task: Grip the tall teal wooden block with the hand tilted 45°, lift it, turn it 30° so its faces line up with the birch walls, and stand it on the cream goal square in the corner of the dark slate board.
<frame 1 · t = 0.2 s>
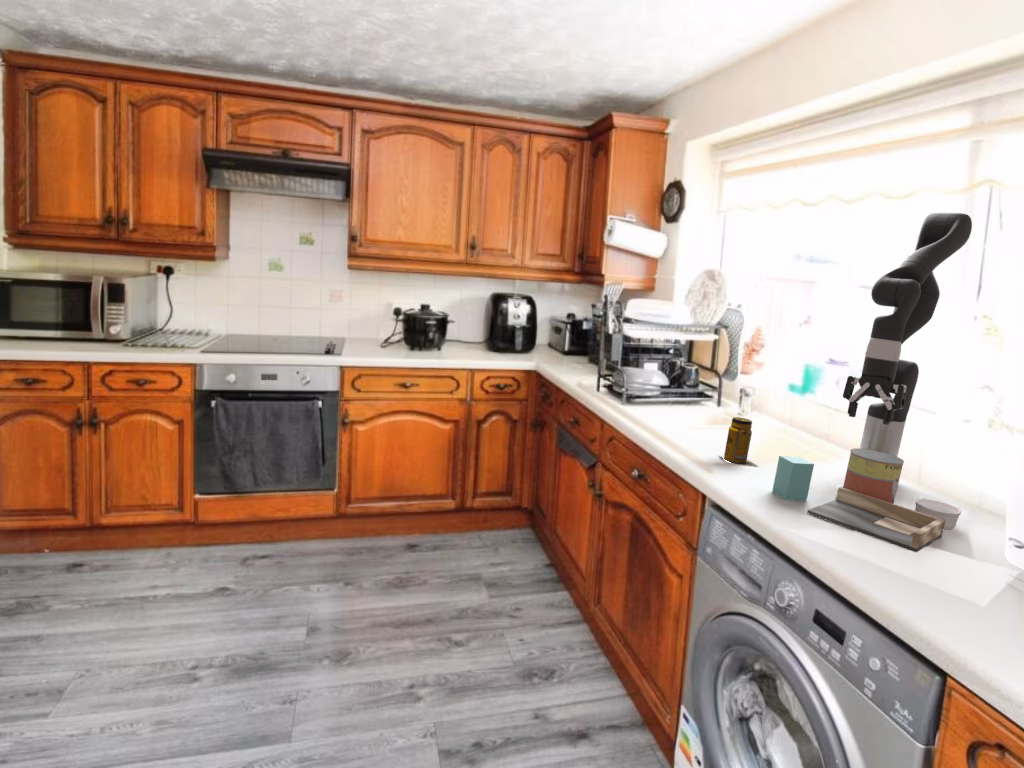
hand: (868, 420, 171), 18 cm above the table, tool pointing down, fingers open, 8 cm apart
canned food: (865, 504, 161), on the table
ramekin: (933, 524, 152), on the table
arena: (873, 524, 145), on the table
condiment: (737, 462, 185), on the table
block: (789, 496, 159), on the table
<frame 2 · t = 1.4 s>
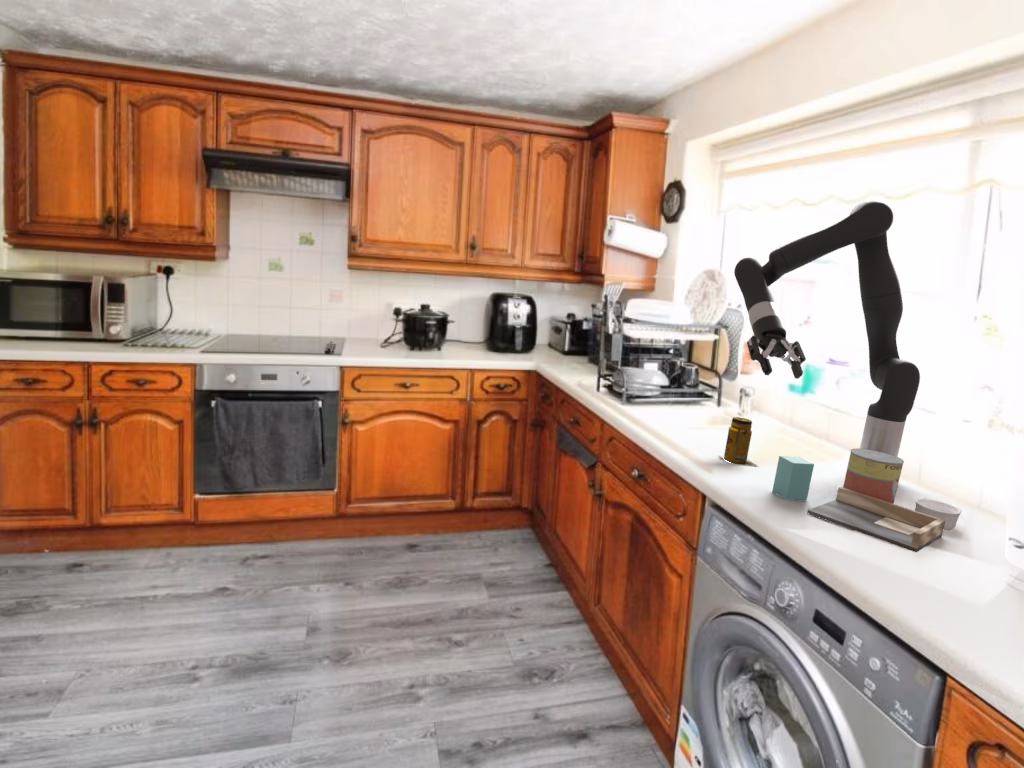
hand: (784, 375, 165), 27 cm above the table, tool tilted 45°, fingers open, 8 cm apart
nothing on the table moved.
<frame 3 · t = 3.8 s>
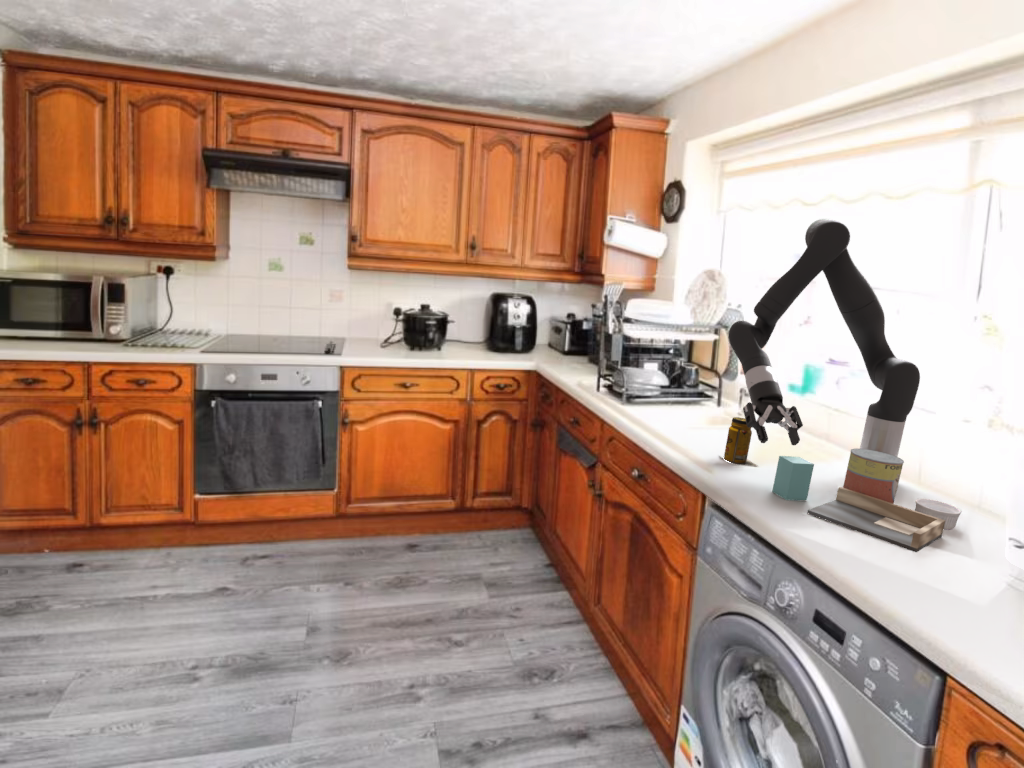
hand: (780, 442, 164), 11 cm above the table, tool tilted 45°, fingers open, 8 cm apart
nothing on the table moved.
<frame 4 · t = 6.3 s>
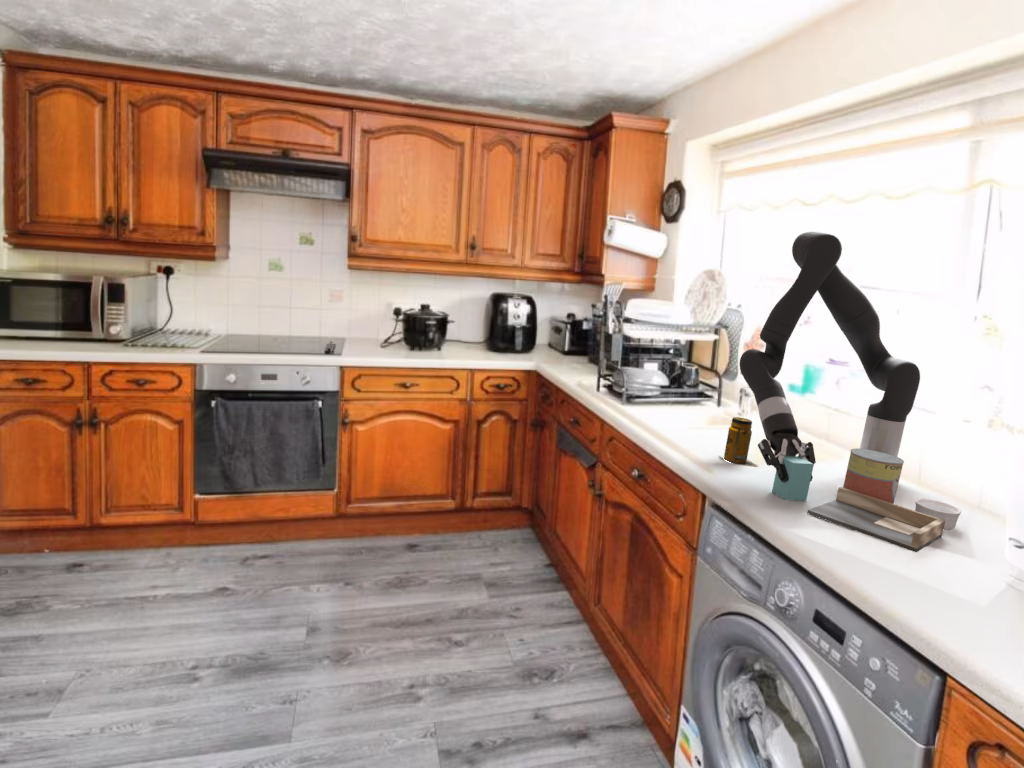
hand: (797, 481, 157), 4 cm above the table, tool tilted 45°, fingers closed on block, 5 cm apart
block: (788, 495, 159), on the table, touching gripper
everything else where it was.
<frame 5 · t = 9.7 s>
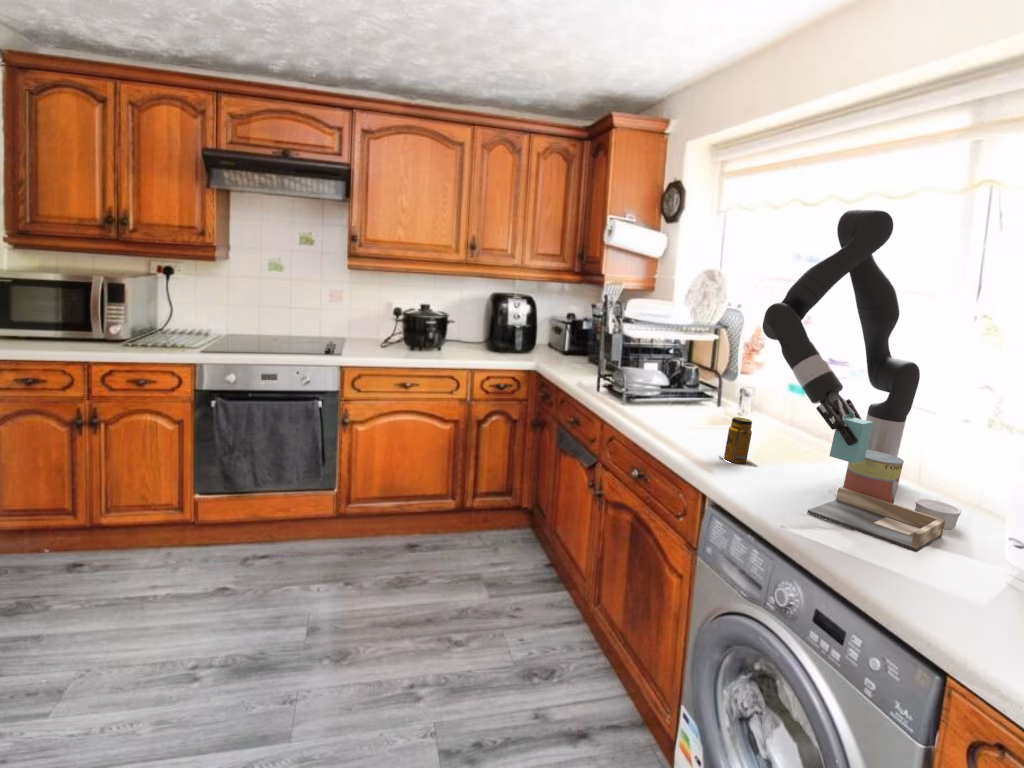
hand: (858, 442, 149), 16 cm above the table, tool tilted 45°, fingers closed on block, 5 cm apart
block: (846, 458, 151), point 12 cm above the table, touching gripper
everything else where it was.
when the fingers open (7 cm above the table, at t = 13.1 s): block drops 1 cm, resting on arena.
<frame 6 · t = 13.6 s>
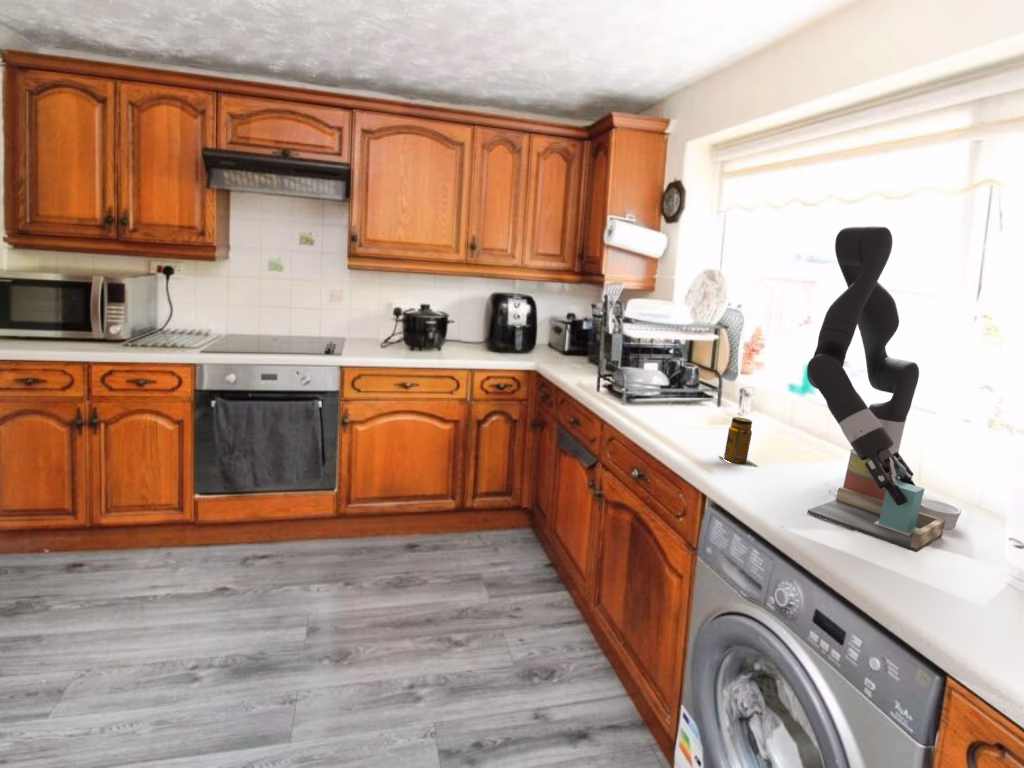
hand: (910, 500, 142), 7 cm above the table, tool tilted 45°, fingers open, 8 cm apart
block: (896, 525, 144), point 1 cm above the table, touching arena
everything else where it was.
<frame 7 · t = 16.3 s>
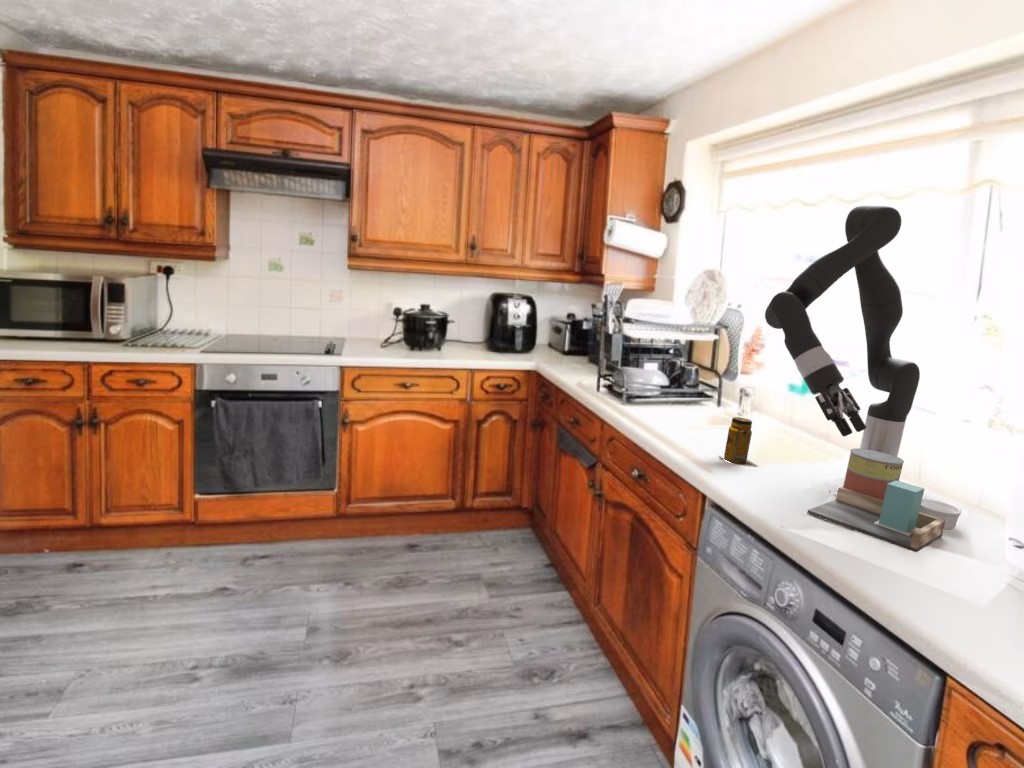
hand: (855, 432, 151), 18 cm above the table, tool tilted 40°, fingers open, 8 cm apart
nothing on the table moved.
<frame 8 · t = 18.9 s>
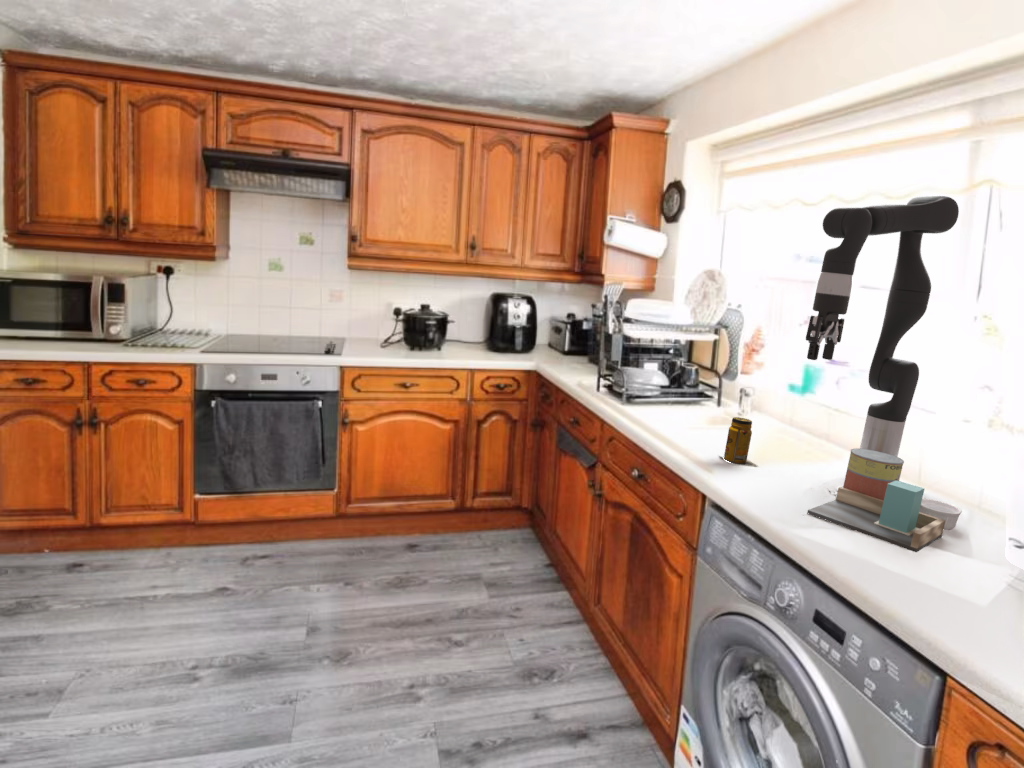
hand: (819, 359, 164), 32 cm above the table, tool pointing down, fingers open, 8 cm apart
nothing on the table moved.
at the end: block 0.3 cm from the target spot on the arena, point 1.0 cm above the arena's base; block tilted 0°; the gripper is holding nothing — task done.
